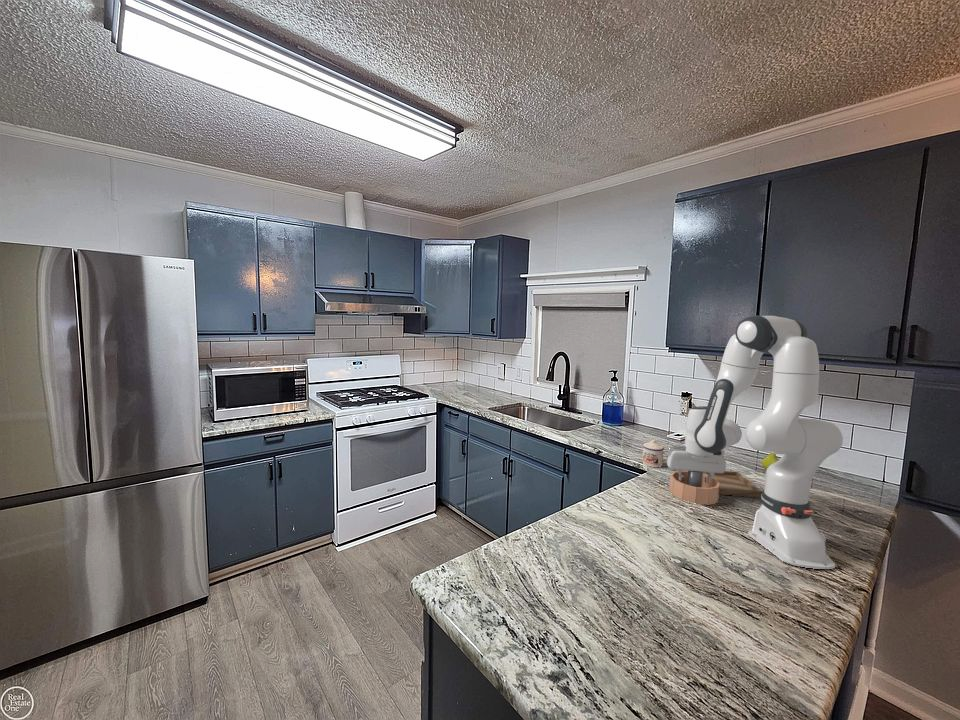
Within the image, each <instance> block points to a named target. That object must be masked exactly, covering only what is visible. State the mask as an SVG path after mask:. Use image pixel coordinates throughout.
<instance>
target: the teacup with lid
mask: <svg viewBox="0 0 960 720" xmlns="http://www.w3.org/2000/svg"><path fill="white" fill-rule="evenodd" d="M664 450H665V446H663V445H662V444H661V443H659V442H657V440H656V439H655V440H654V439H651V441H648V442H644V443H643V445H642V462H643V463H642V464H643V465H644V466H645V465H646V467H648V466H649V468H653V467H659V466H662V467H663V464H664V463H666V464H667V460H668V459H667V460H664V454H665V455H666V456H667V457H668V456H669V455H668V451H664ZM650 466H651V467H650ZM659 468H660V467H659Z"/></svg>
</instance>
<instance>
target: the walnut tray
mask: <svg viewBox="0 0 960 720" xmlns="http://www.w3.org/2000/svg"><path fill="white" fill-rule="evenodd" d="M703 474H706V475H709V473H708V472H703ZM713 478H715V479H716V480H717V481H718V482H719V483H720V491H719V494H721V495H720V496H725V495H732V496H731V497H738V496H744V497H743V498H751V497H756V498H755V499H761V495H762V491H763V490H762V491H761V489H759V488H758V487H757V486H755V484H753V483H752V482H751V481H749V480H748V479H747V478H745V476H744V475H742V474H740V473H739V472H738V471H730V470H727V471H726V470H725V472H724V473H714V476H713Z"/></svg>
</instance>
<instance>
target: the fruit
mask: <svg viewBox="0 0 960 720" xmlns="http://www.w3.org/2000/svg"><path fill="white" fill-rule="evenodd" d="M779 460H780V459H778V457H777V454H771V453H768V456H767V457H764V458H762V460H761V466H762V467H763V468H764V470H765V471H766V470H767V468H768V467H769V466H770V465H771V464H773V463H775V462H777V461H779Z"/></svg>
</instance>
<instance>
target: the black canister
mask: <svg viewBox="0 0 960 720" xmlns="http://www.w3.org/2000/svg"><path fill="white" fill-rule="evenodd" d="M702 475H703V472H696V471H688V477H687V485H690V486H694V487H702Z"/></svg>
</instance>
